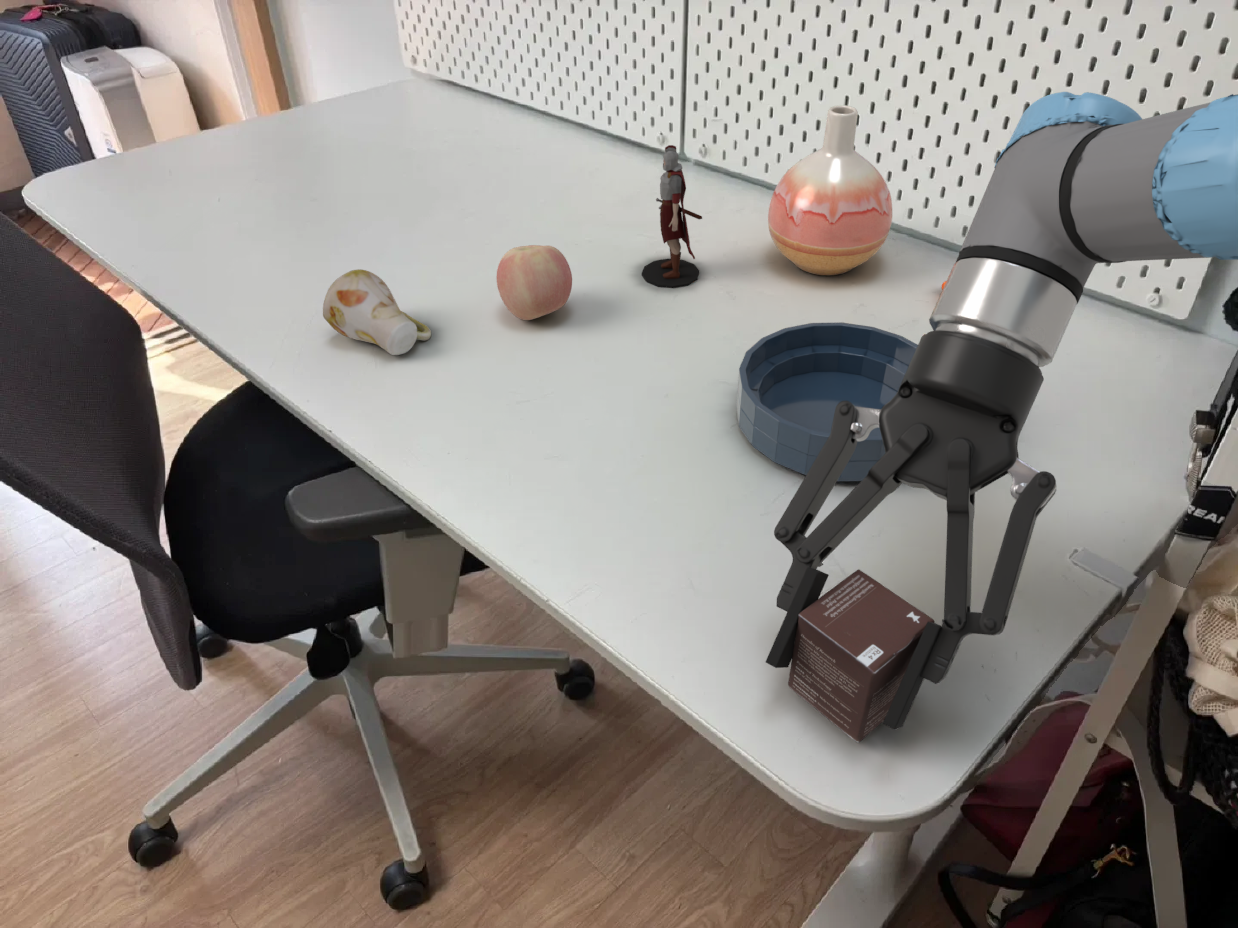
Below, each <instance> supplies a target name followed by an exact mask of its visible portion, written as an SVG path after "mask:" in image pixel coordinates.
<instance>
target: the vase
mask: <svg viewBox="0 0 1238 928" xmlns="http://www.w3.org/2000/svg"><path fill="white" fill-rule="evenodd" d="M858 112H859V111H858V109H857V108H855V107H853V106H850V105H845V104H843V105H841V104H839V105H834V106H831V107H829V108H828V110H827V115H826V122H825V127H824V128H825V129H824V137H823V143H822V147H821V148H819V149H817V150H815V151H813V152H811V153H810V154H808V155H807V156H805V157H803V158H801V159H800V160H798V161H797V162H796V163H795V164H793V165H792V166H791V167H790V168H789V169H788V170H787V171H786V172H785V173H784V174H783V175H782V177H781V178H780V180H779V181H778V183H777V184H776V186H775V188H774V190H773V193H772V196H771V198H770V201H769V206H768V213H767V225H768V231H769V234H770V237H771V240H772V241H773V243H774V245H775V246H776V248H777V249H778V251H779V252H780V254H781V255H783V256H784V258H786V259H788V260H789V261H790V262H791V263H792V264H793V266H795V267H796V268H798V269H799V270H802V271H803V272H806V273H809V274H813V275H817V276H838V275H841V274H845V273H847V272H849V271H851V270H853V269H854V268H856V267H859V266H860V265H862V264H864V263H866V262H867V261H868V260H870V259H871V258H872V257H873V256H874V255H876V254H877V253H878V252H879V251H880V249H881V248H882V246H884V244H885V242H886V241H887V239H888V236H889V234H890V231H891V228H892V223H893V200H892V196H891V191H890V189H889V187H888V184H887V182H886V180H885V178H884V177H883V175H882V173H880V171H879V170H878V169H877V168H876V166H874V165H873V163H872V162H870V161H869V160H868V159H867V158H865V157H864V155H861V154H860V153H859V152H857V151H856V150H855V140H856V131H857V123H858V114H859V113H858Z"/></svg>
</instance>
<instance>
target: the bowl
mask: <svg viewBox="0 0 1238 928" xmlns="http://www.w3.org/2000/svg"><path fill="white" fill-rule="evenodd" d="M917 346H918V344H917V343H916V342H913V341H911V339H909V338H906V337H905V336H904V335H903V336H902V335H900V334H896V333H895V332H894V333H893V332H890V331H888V330H884V329H880V328H877V327H875V326H871V325H869V326H868V325H863V324H856V323H849V322H839V321H838V322H810V323H805V324H799V325H794V326H789V327H785V328H781V329H779V330H776V331H775V332H772V333H769V334H768V335H765V336H764V337H761V338H760V339H759V340H758V341H757V342H756V343H754V344H753V345H752V346H751V347H750V348H749V349H748V350H747V351H746V352H745V353H744V356H743V358H742V361H741V363H740V365H739V367H738V380H737V391H736V405H735V410H736V416H737V422H738V427H739V429H740V430H741V432H742V434H743V435H744V436H745V438H746V439H747V441H748V443H750V445H751V446H752V447H753V448H754V449H756V450H757V451H759V453H761V454H763V455H764V456H765V457H766V458H767V459H769V460H771V461H772V462H773V463H775V464H777V465H780V466H783V467H785V468H787V469H789V470H792V471H794V472H797V473H799V474H802V475H804V476H806V475H807V473H808V471H809V470H810V468H811V466H812V465H813V463H814V461H815V460H816V458H817V456H818V454H819V453H820V451H821V449H822V448H823V446H824V444H825V443H826V441H827V439H828V438H829V436H830V434H831V429H832V423H833V418H834V413H835V408H836V406H837V404H838V403H839V402H842V401H849V402H851V403H852V404H853V405H854V406H856V407H864V408H873V409H882V407H883V406H884V405H886V404H887V403H888V402H890V401H891V400H892V399H893V398H894V396H895V395H896V394H897V392H898V390H899V387H900V385H901V383H902V380H903V378H904V376H905V374H906V371H907V369H908V367H909V365H910V362H911V360H912V358H913V355H914V353H915V351H916V349H917ZM884 454H885V449H884V445H883V440H882V436H881V432H880V428H875V429H873V430H872V431H871V432H870V434H869V436H868V437H867V438H866V439H865V440H864V441H858V442H857V445H856V448H855V450H854V452H853V454H852V456H851V458H850V460H849V461H848V463H847V465H846V466H845V468H844V470H843V471H842V473H841V475H840V477H839V478H838V480H837V482H861V481H862V480H863V479H864V478H865V477H866V476H867V474H868V472H869V470H870V469H871V468H872V467H873V466H874V465H875V464H876V463H877V462H878V461H879V460H880V458H881V457H882V456H883V455H884Z"/></svg>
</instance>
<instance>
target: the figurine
mask: <svg viewBox="0 0 1238 928" xmlns="http://www.w3.org/2000/svg"><path fill="white" fill-rule="evenodd" d="M662 159H663V163H662V170H663V171H665V172H663V173H662V175H661V176H660V178H659V179H660V184H659V194H660V199H659V198H658V197H656V199H655V200H656V202H657V203H661V205H660V206H659V207H658V210H660V211H659V225H660V232H661V234H660V235H661V237H662V238H661V239H662V242H663V244H665V245H667V246H668V247H669V255H670V257H669V258H663V259H657V260H653V261H651V262H649V263H647V264H645V265H644V267H643V268H642V271H641V277H642V278H643V280H644V281H645V282H646V283H647V284H650V285H653V286H655V287H658V288H663V289H664V288H665V289H666V288H667V289H678V288H682V287H683V288H684V287H688V286H690V285H692V284H693V283H695V282H696V281H698V279H699V277H700V269H699V268H698V267H697V266H696V265H695V263H692V262H690V261H687V260H685V259H681V256H682V252H681V250H682V246H681V242H680V240H682V241H683V242H684V243H685V244H686V248H687V251H688V252H687V253H688V254H689V255H690V256H691V257H692V259H693V260H696V256H695V255H694V253H693V250H692V249H691V241H690V235H689V228H688V223H687V217H686V215H687V216H690V217H691V218H694V219H697V220H703V216H702V215H700V214H697V213H695V212H694V211H691V210H688V209H686V208H685V206H684V198H685V194H686V192H687V185H686V179H685V176H684V173H683V165H682V163H679V153H678V152H677V146H675V145H674V144H671V145H670V144H668V145H666V146H665V147H664V154H663V157H662Z"/></svg>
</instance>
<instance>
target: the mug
mask: <svg viewBox="0 0 1238 928" xmlns="http://www.w3.org/2000/svg"><path fill="white" fill-rule="evenodd" d="M322 317H323V319H324V320H325V322H327V323H328V324H329V326H330V327H331V328H332V329H333V330H335V332H337V333H339V334H340V335H342V336H344V337H345V338H346V337H347V338H350V339H352V340H357V341H361V342H366V343H370V344H374V345H377V346H378V347H380V348H381V349H383V350H384V351H385V352H387V354H390V355H393V356H399V355H404V354H406V353H408V352H409V351H410V350H411V349H412V348H413V347H414V345H415V343H416V341H417V340H419V341H424V342H425V341H428V340H429V339H430V338H431V337H432V331H431V329H430V328H429V326H427V325H426V324H424V323H422V322H420V321H418V320H417V319H415V318H413V317H412V316H410V315H408V314H407V313H406V312H404V311H403V310H401V309H400V307H399V305H398V303H397V301H396V299H395V297H394V295H393V293H392V291H391V290H390V288H389V287H388V285H387V284H386V282H385V281H384V280H383V279H382V278H381V277H380V276H378V275H377V274H375V273H373V272H371V271H369V270H367V269H353V270H350V271H347V272H345V273H344V274H342V275H340V276H339V277H338V278H336V279H335V280H334V281H333V282H332V283H331V284H330V286H329V287H328V289H327V291H326V294H325V297H324V300H323V304H322Z"/></svg>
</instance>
